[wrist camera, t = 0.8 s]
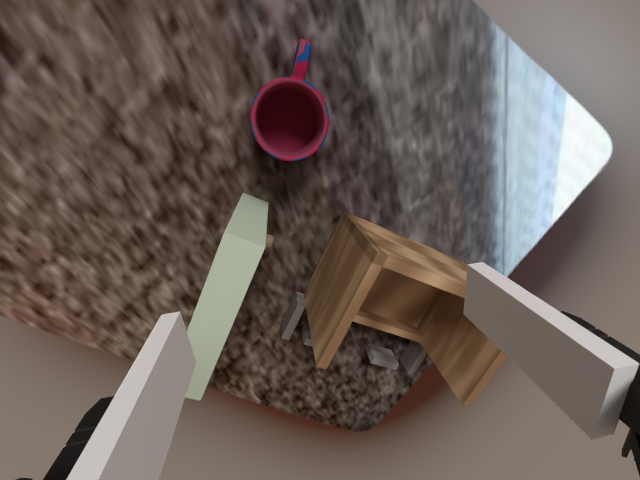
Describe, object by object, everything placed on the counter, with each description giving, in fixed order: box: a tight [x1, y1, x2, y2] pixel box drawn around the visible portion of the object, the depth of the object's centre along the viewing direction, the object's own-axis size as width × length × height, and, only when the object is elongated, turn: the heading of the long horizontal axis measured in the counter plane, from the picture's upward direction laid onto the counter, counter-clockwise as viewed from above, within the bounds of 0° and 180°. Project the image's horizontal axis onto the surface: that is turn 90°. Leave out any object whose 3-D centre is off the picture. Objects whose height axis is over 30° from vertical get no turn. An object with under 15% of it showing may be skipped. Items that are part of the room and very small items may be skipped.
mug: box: [250, 39, 329, 161], centre depth 29 cm, size 7×10×7 cm
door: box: [185, 193, 274, 400], centre depth 30 cm, size 15×4×14 cm, turn 155°
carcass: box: [281, 211, 507, 407], centre depth 35 cm, size 20×17×13 cm
